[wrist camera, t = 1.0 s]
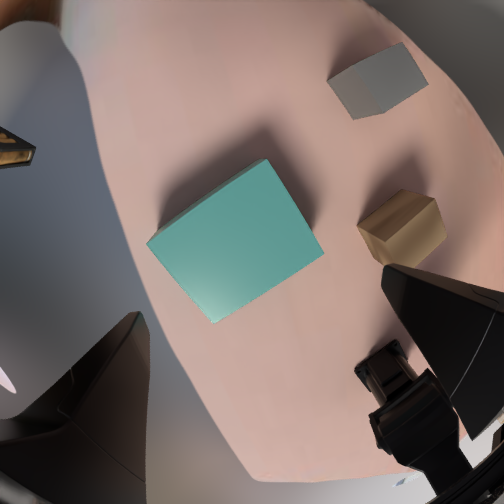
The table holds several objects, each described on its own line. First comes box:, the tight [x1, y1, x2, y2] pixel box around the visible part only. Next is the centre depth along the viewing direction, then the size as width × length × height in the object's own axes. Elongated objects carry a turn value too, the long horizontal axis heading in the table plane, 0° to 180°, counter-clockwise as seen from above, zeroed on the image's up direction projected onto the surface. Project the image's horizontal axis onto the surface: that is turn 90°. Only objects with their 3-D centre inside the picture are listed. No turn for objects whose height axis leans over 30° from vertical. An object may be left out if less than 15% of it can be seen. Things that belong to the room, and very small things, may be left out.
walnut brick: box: [357, 190, 447, 268], centre depth 21 cm, size 4×6×5 cm, turn 127°
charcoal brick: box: [327, 42, 429, 120], centre depth 17 cm, size 4×6×5 cm, turn 127°
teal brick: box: [146, 159, 324, 324], centre depth 21 cm, size 8×10×4 cm
